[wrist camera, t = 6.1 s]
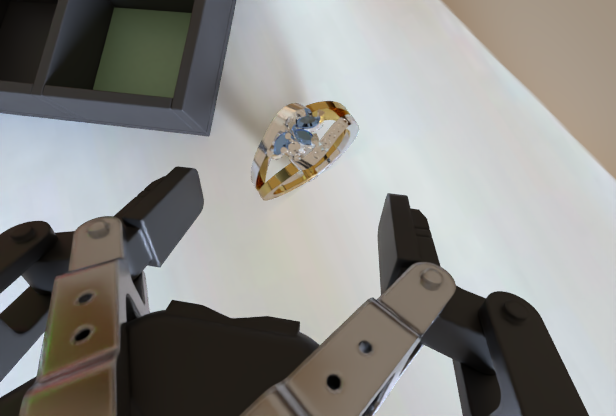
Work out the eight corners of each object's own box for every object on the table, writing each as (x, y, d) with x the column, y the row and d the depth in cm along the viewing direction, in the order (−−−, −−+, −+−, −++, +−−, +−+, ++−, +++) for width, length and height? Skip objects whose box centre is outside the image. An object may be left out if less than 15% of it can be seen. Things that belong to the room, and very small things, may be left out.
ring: (280, 219, 20) (250, 199, 12) (258, 182, 21) (215, 140, 13) (363, 167, 20) (385, 114, 13) (339, 131, 21) (345, 59, 13)
